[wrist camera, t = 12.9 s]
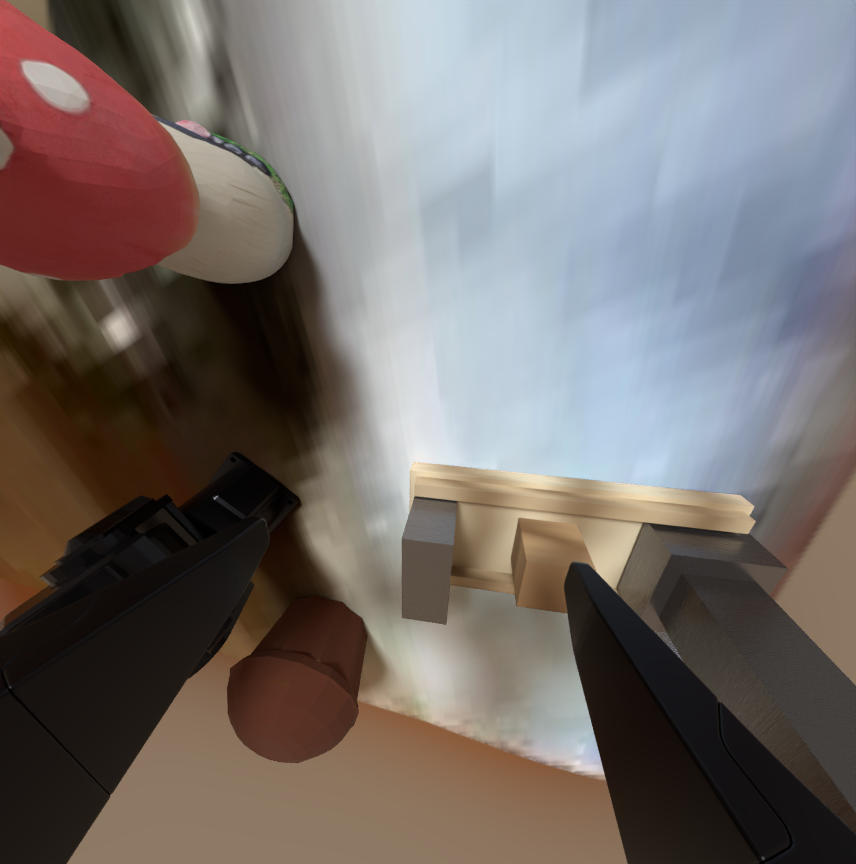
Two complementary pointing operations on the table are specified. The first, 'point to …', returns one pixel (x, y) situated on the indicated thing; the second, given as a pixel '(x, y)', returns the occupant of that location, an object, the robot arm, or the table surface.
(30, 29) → the decorative ornament
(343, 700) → the muffin
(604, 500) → the wooden tray
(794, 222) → the table surface
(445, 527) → the block
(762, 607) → the block
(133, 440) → the table surface
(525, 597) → the walnut block
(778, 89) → the table surface
